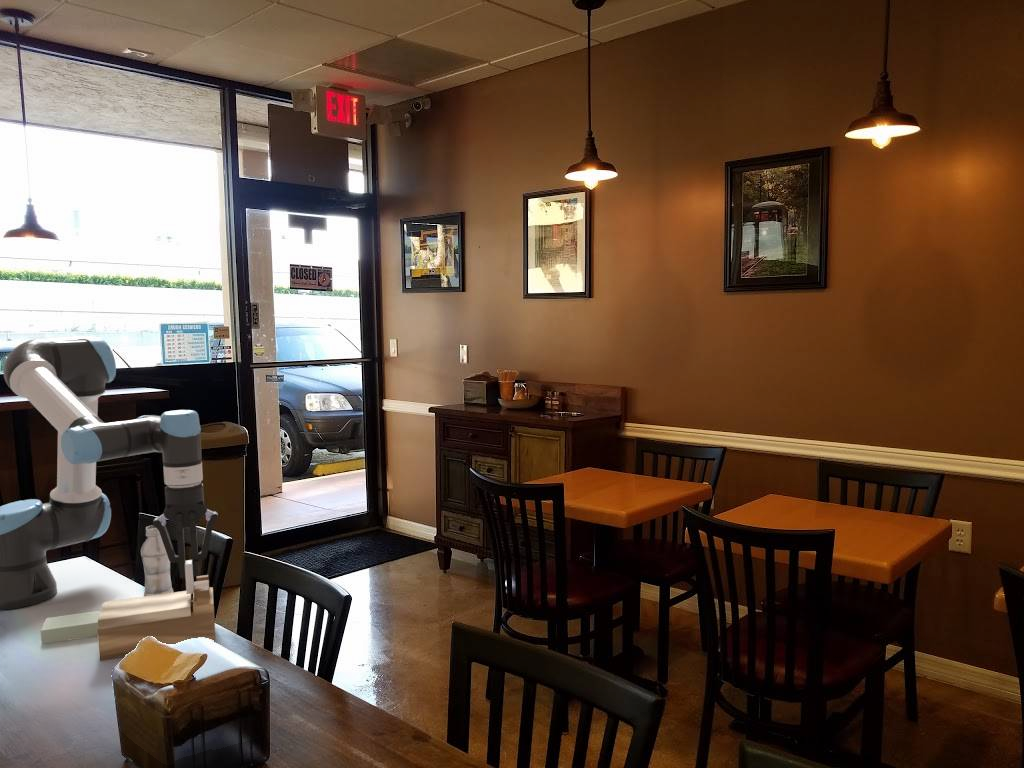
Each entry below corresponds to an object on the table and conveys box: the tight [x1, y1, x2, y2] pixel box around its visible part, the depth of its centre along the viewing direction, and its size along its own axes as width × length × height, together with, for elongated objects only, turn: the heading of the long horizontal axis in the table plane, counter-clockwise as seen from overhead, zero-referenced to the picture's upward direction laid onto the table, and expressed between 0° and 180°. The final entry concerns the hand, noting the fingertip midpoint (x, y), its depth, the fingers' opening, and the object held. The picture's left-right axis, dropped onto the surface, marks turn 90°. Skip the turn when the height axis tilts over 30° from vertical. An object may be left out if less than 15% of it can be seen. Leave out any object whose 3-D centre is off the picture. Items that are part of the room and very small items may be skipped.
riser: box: [40, 610, 101, 645], centre depth 172 cm, size 7×13×3 cm, turn 112°
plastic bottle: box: [140, 525, 174, 597], centre depth 183 cm, size 6×7×20 cm
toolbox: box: [97, 574, 216, 661], centre depth 165 cm, size 10×22×12 cm, turn 112°
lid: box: [98, 590, 192, 629], centre depth 164 cm, size 10×17×2 cm, turn 112°
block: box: [194, 579, 210, 601], centre depth 168 cm, size 5×3×2 cm, turn 22°
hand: (190, 591), depth 167 cm, fingers closed
